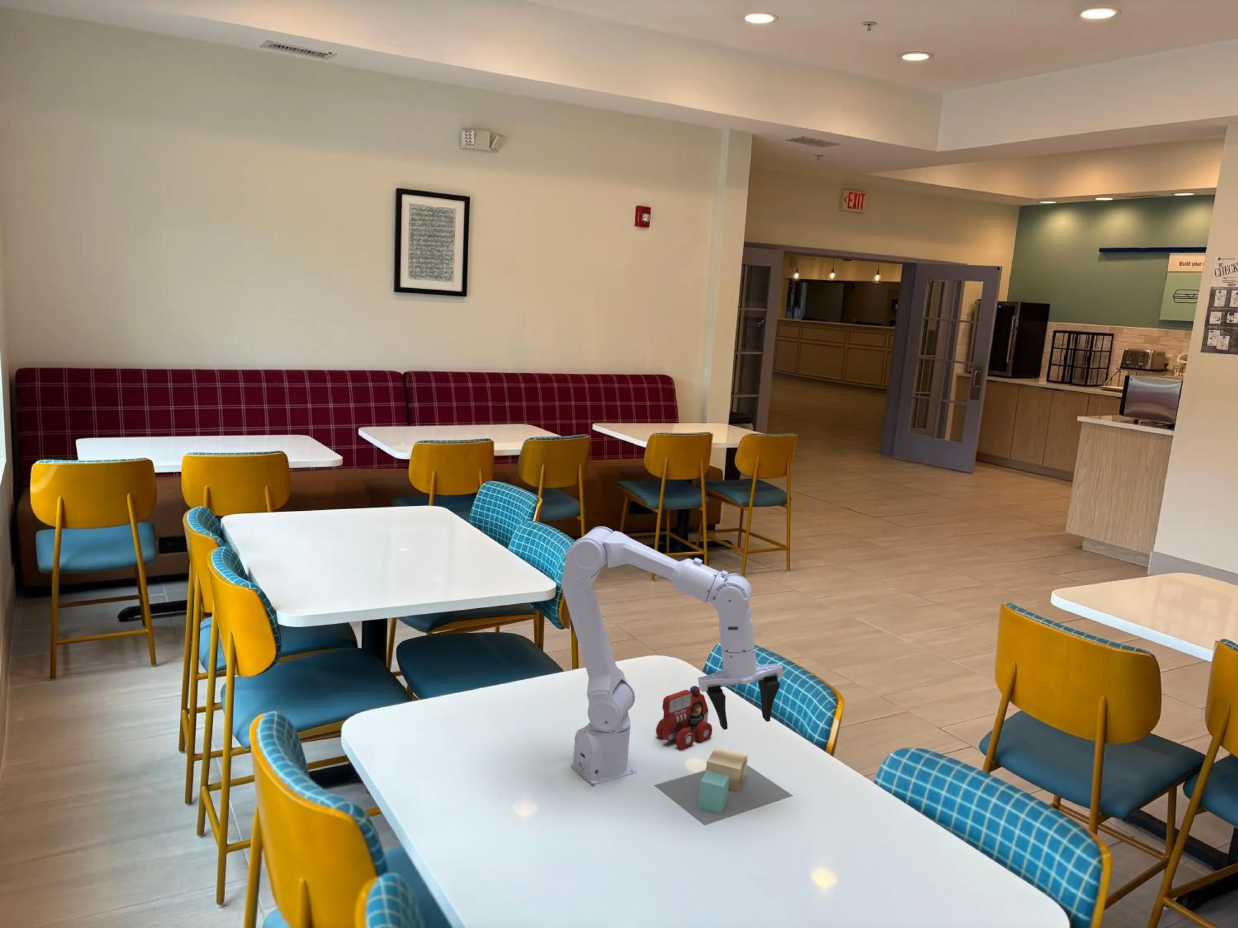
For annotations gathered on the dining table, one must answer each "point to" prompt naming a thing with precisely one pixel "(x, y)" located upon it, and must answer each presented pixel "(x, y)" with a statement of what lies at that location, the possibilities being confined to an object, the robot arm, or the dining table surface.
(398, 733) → the dining table surface
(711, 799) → the teal brick
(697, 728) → the toy fire truck
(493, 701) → the dining table surface
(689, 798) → the mat
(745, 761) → the base block
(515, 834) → the dining table surface
